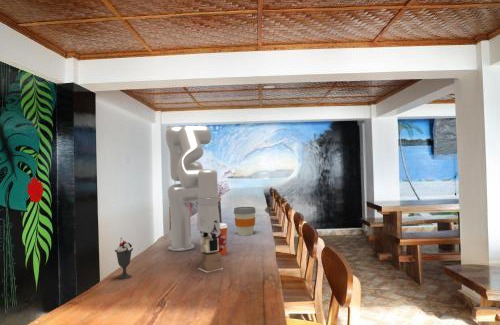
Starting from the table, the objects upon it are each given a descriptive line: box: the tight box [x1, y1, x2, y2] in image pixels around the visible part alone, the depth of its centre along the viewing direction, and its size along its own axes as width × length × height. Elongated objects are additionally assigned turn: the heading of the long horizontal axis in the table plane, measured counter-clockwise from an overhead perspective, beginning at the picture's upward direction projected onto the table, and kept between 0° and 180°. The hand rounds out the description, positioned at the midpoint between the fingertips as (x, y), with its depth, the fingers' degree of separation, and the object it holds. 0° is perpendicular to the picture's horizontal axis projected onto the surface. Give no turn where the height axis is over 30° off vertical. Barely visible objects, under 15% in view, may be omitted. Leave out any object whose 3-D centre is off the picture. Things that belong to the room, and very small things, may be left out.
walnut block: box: [199, 251, 222, 273], centre depth 143 cm, size 6×6×6 cm
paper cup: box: [212, 222, 229, 257], centre depth 166 cm, size 8×8×14 cm
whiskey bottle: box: [218, 195, 223, 223], centre depth 232 cm, size 10×10×32 cm
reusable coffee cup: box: [233, 206, 257, 237], centre depth 215 cm, size 13×13×15 cm
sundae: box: [114, 237, 134, 280], centre depth 138 cm, size 7×7×15 cm
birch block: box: [200, 235, 219, 253], centre depth 143 cm, size 5×5×5 cm
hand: (209, 248), depth 143 cm, fingers closed on birch block, 5 cm apart
